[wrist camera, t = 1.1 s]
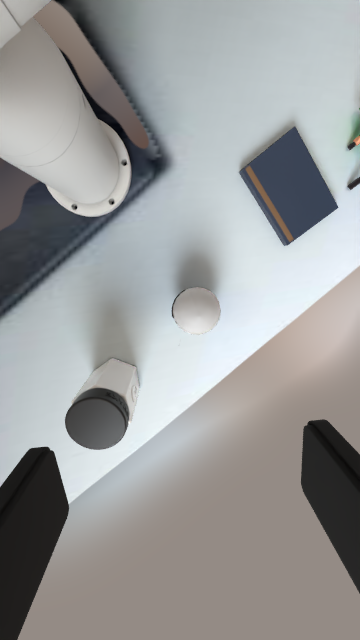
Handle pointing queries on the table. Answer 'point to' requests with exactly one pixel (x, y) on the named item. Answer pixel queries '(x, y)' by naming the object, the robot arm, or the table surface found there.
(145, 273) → the table surface
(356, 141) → the stick construction toy
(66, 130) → the robot arm
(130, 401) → the jar
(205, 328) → the white sphere
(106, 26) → the table surface
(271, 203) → the notebook
